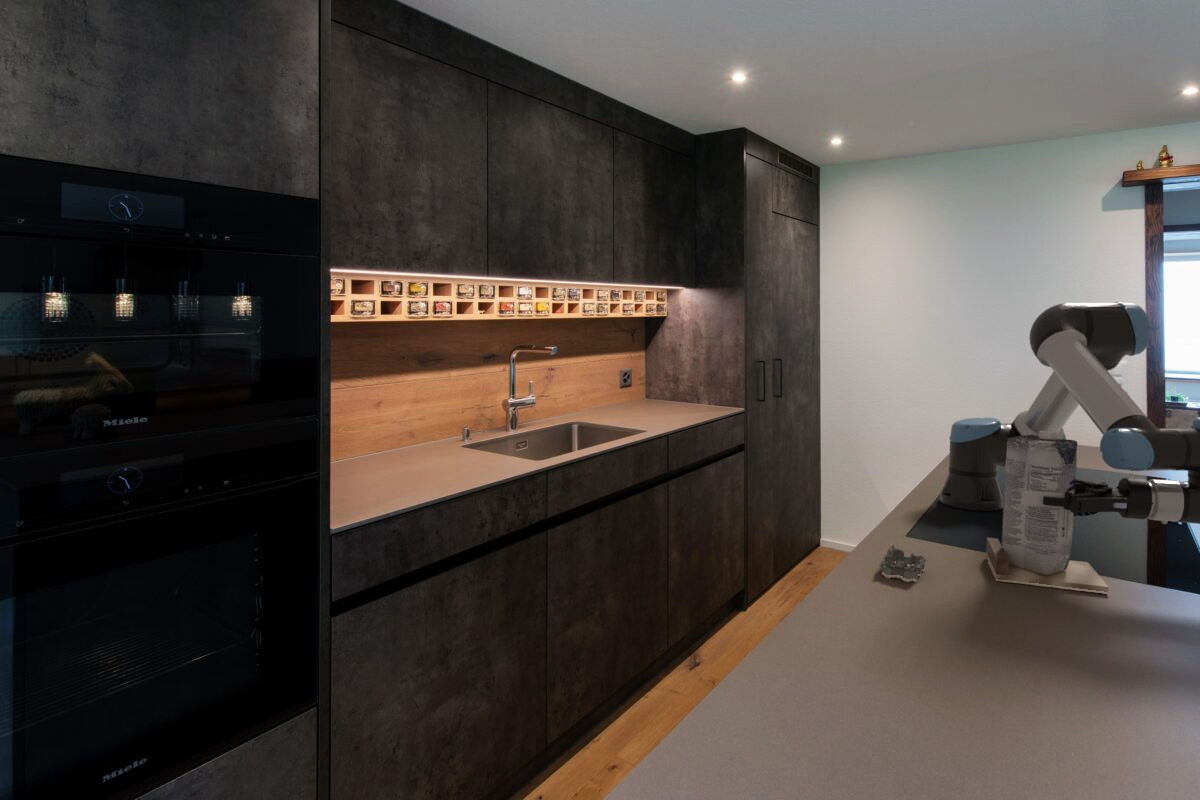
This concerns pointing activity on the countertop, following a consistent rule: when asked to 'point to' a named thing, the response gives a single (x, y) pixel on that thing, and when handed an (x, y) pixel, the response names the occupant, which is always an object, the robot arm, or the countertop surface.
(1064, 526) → the juice carton
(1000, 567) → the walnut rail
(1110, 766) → the countertop surface
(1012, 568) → the oak board
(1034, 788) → the countertop surface
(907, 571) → the egg carton
